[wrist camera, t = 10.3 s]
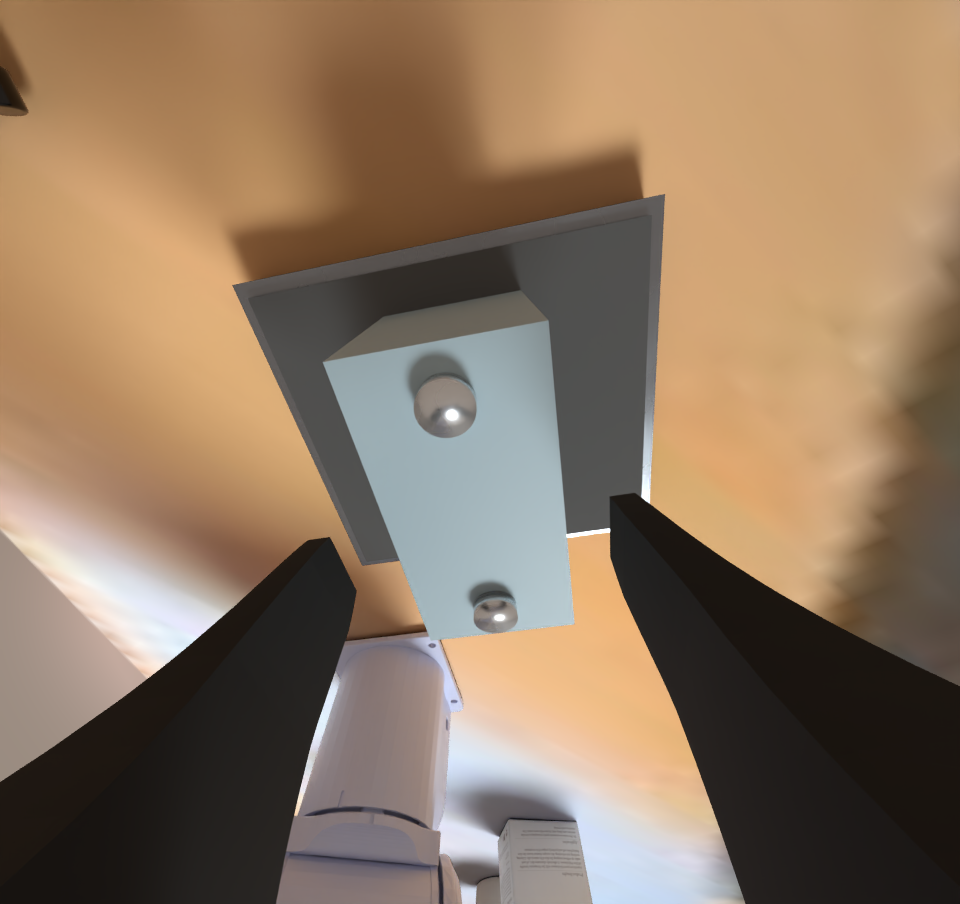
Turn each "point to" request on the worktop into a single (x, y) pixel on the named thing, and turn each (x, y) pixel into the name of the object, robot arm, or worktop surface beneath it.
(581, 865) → the skincare box
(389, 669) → the robot arm
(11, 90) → the valve
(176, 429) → the worktop surface
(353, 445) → the shallow gray tray
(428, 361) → the block
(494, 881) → the coffee cup
